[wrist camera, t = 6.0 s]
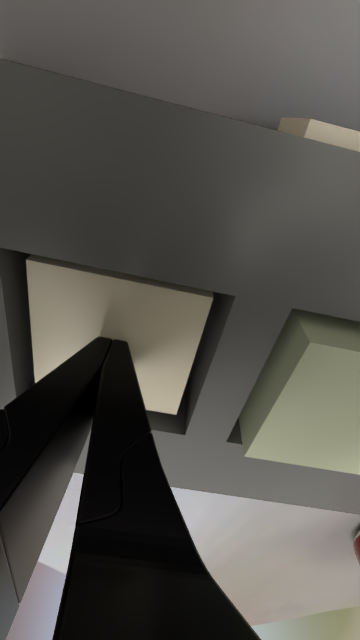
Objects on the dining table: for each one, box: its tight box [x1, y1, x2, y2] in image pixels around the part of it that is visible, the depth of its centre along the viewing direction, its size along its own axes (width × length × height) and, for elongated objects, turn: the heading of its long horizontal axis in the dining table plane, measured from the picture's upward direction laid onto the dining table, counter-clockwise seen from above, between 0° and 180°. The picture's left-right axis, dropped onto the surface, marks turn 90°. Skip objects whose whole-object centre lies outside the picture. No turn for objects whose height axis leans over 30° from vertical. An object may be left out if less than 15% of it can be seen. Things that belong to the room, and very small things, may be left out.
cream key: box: [26, 254, 213, 415], centre depth 10 cm, size 5×5×2 cm
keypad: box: [0, 59, 360, 515], centre depth 11 cm, size 22×12×4 cm, turn 78°
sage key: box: [238, 308, 360, 475], centre depth 9 cm, size 5×5×2 cm
